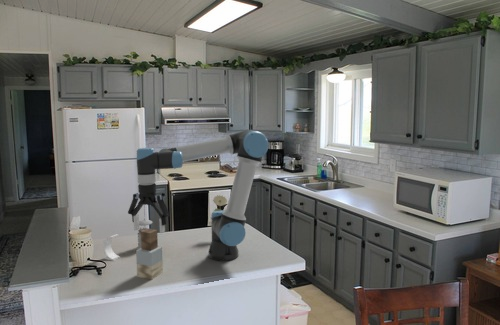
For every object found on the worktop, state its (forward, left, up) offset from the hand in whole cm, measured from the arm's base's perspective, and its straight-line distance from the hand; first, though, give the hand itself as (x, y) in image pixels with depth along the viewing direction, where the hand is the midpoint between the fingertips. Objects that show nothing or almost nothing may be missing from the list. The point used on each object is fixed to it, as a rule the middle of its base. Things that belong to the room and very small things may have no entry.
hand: (149, 231), depth 179 cm
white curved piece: (+30, -10, -20) cm, 38 cm away
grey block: (0, +1, -14) cm, 14 cm away
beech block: (0, +1, -20) cm, 20 cm away
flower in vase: (-7, -61, -20) cm, 64 cm away
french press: (+24, -29, -20) cm, 43 cm away
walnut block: (0, 0, -8) cm, 8 cm away
